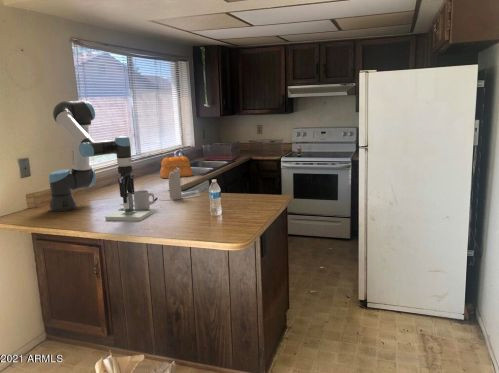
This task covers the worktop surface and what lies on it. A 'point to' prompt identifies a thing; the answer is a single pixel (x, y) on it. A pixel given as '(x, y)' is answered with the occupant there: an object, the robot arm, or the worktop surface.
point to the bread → (175, 166)
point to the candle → (174, 185)
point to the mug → (142, 199)
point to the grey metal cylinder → (130, 203)
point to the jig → (129, 215)
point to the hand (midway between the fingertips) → (128, 207)
